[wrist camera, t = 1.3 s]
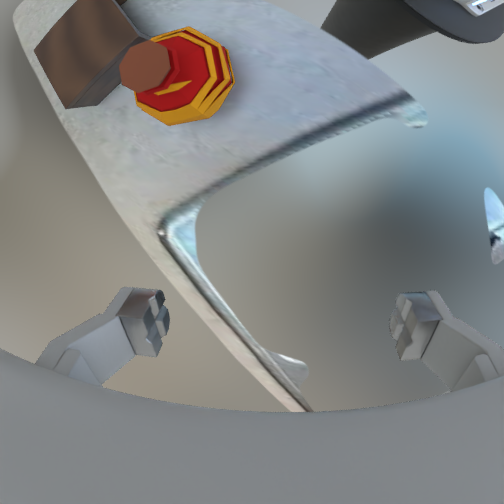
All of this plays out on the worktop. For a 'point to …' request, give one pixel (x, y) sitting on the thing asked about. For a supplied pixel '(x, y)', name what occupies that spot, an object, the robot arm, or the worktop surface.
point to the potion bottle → (178, 76)
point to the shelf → (87, 51)
